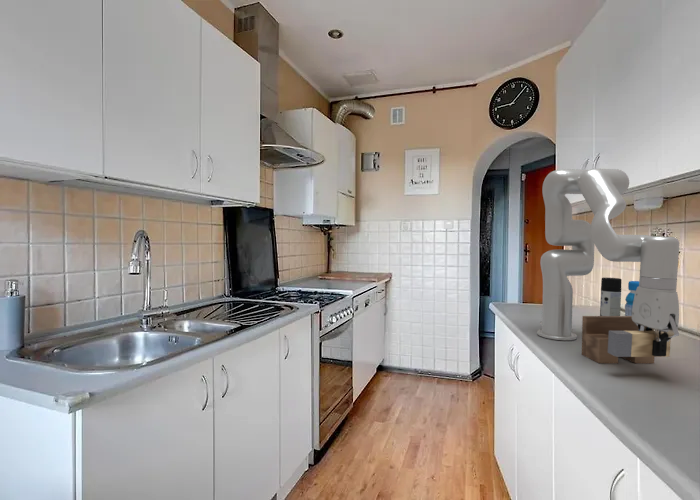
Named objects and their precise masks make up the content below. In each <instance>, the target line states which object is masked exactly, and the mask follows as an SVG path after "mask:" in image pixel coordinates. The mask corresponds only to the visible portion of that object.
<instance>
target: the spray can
mask: <svg viewBox="0 0 700 500" xmlns="http://www.w3.org/2000/svg"><path fill="white" fill-rule="evenodd" d="M600 284H601V285H600V304H599V305H600V307H599V309H600V310H599V316H621V307H622V304H621V303H622V284H623V283H622V278H618V277H601V283H600Z"/></svg>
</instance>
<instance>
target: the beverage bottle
mask: <svg viewBox="0 0 700 500" xmlns="http://www.w3.org/2000/svg"><path fill="white" fill-rule="evenodd" d="M637 287H639V280H630V281H628V287H627V289H628V291H629V293H628V294H627V295H626V297H625V302H626V303H625V304H624V312H625V313H624V316H632V308H633V301H634V296H635V292H636V289H637ZM639 331H640V330H639Z"/></svg>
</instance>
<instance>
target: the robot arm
mask: <svg viewBox="0 0 700 500" xmlns="http://www.w3.org/2000/svg"><path fill="white" fill-rule="evenodd" d="M629 186H630V179H629V176H628V174H627V173H626V172H625V171H623V170H622V169H618V168H617V169H616V168H591V169H578V168H577V169H575V168H562V169H556V170H553V171H550V172H549V173H548V174H547V175H546V177H545V178H544V181H543V183H542V191H541V192H542V197H543V203H544V208H545V211H544V212H545V214H544V221H545V222H544V223H545V229H544V230H545V231H544V234H545V241H546V242H547V244H549V245H550V246H551V245H552V246H556V247H558V246H559V247H560V246H561V247H566V246H568V247H571V249H549V250H548V251H546V252H544V253H542V255H541V257H540V269H541V274H542V311H541V312H542V313H541V316H542V317H541V318H542V319H541V321H540V322H539V323H540V325H541V329H538V330H537V332H536V334H537V335H538V336H540V337H541V338H543V339H544V338H545V339H549V340H557V341H575V340H577V338H578V337H577V336H578V335H577V334H576V333H574V332H572V330H573V329H572V327H573V299H574V297H573V293H574V292H573V291H574V290H573V286H572V283H571V282H570V280H569V278H568V277H578V276H579V277H580V276H587V275H589V274H590V273H591V272H592V271H593V269H594V265H595V247H596V249H597V251H598V252H599V253H600V255H601V256H602V257H603V258H604V259H605V260H607V261H608V262H613V263H615V262H616V263H617V262H619V263H620V262H622V263H625V262H626V263H627V262H628V263H629V262H632V263H635V262H637V263H640V264H639V268H640V269H639V280H638V281H639V287H637V289H636V292H635V296H634V301H633V308H632V320H633V321H634V323H635V324H636V325H637V326H638V328H639V330H640V331H655V340H653V349H652V355H653V356H666V350H667V342H669V341H670V339H672V338H675V337H678V336H680V332H679V330H678V328H679V325H680V324H679V323H680V303H679V296H678V291H677V287H678V286H677V283H678V269H679V254H680V241H679V239H678V238H676V237H673V236H663V235H662V236H660V235H659V236H654V235H649V234H618V233H617V232H616V231H615V229H614V228H613V226H612V224H611V223H610V220H612V219H615V218H616V217H618V216H620V215H621V214H622V213H623V212H624V211H625V210H626V207H627V202H626V200H625V199H624V197H623V196H622V195H623V194H624V193H626V192H627V191H628V189H629ZM566 195H582V197H583V199H584V200H585V203H587V206H588V207H589V209H590V210H591V212H592V214H593V215H594V216H593V218H592V220H591V222H590V223H589V222H588V221H586V220H584V219H573V206H572V204H571V201H570V200H569V198H568V197H567V196H566ZM661 332H664V333H663V334H661Z"/></svg>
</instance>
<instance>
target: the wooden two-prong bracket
mask: <svg viewBox="0 0 700 500" xmlns="http://www.w3.org/2000/svg"><path fill="white" fill-rule="evenodd" d="M581 319H582V321H581V323H582V325H581V355H582V356H584V357H585V358H587V359H589V360H591V361H593V362H595V363H597V364H619V357H615V356H613V355H611V354H609V353H608V336H609V331H639V328H638V326H637V325H636V324H635V323H634V321H633V320H632V316H625V315H620V316H600V315H582V317H581ZM621 358H623V359H625V360H627V361H629V362H632V363H633V364H655V357H621Z"/></svg>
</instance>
